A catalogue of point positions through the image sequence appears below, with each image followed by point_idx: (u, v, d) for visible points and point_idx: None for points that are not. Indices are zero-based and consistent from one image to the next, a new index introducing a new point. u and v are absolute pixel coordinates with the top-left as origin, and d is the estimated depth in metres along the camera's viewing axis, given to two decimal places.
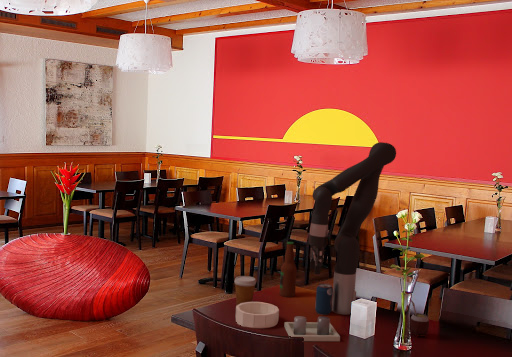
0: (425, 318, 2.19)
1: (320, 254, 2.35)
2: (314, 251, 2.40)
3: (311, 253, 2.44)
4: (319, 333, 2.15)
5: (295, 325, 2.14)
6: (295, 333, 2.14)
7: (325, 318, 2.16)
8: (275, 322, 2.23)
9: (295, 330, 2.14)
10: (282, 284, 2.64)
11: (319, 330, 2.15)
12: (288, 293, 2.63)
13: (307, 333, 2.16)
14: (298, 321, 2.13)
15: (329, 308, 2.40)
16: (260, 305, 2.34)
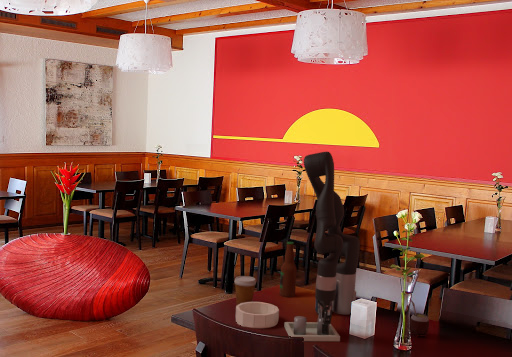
0: (425, 318, 2.19)
1: (328, 314, 2.09)
2: (321, 307, 2.14)
3: (318, 309, 2.17)
4: (319, 333, 2.15)
5: (295, 325, 2.14)
6: (295, 333, 2.14)
7: None
8: (275, 322, 2.23)
9: (295, 330, 2.14)
10: (282, 284, 2.64)
11: (319, 330, 2.15)
12: (288, 293, 2.63)
13: (307, 333, 2.16)
14: (298, 321, 2.13)
15: None
16: (260, 305, 2.34)
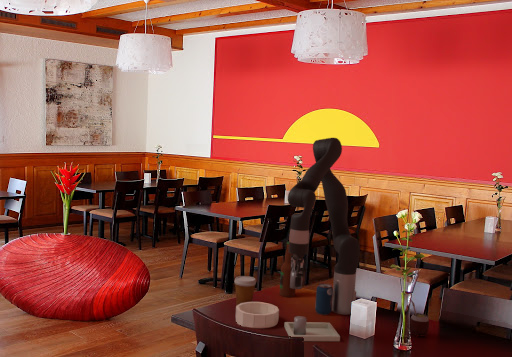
0: (425, 318, 2.19)
1: (301, 266, 2.13)
2: (295, 260, 2.17)
3: (292, 263, 2.21)
4: (292, 286, 2.18)
5: (295, 325, 2.14)
6: (295, 333, 2.14)
7: None
8: (275, 322, 2.23)
9: (295, 330, 2.14)
10: (282, 284, 2.64)
11: (292, 283, 2.18)
12: (288, 293, 2.63)
13: (307, 333, 2.16)
14: (298, 321, 2.13)
15: (329, 308, 2.40)
16: (260, 305, 2.34)
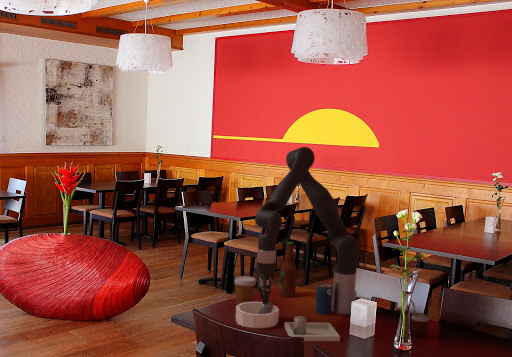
0: (425, 318, 2.19)
1: (267, 283, 2.20)
2: (262, 279, 2.24)
3: (260, 281, 2.28)
4: None
5: (295, 325, 2.14)
6: (295, 333, 2.14)
7: (269, 305, 2.26)
8: (275, 322, 2.23)
9: (295, 330, 2.14)
10: (282, 284, 2.64)
11: None
12: (288, 293, 2.63)
13: (307, 333, 2.16)
14: (298, 321, 2.13)
15: (329, 308, 2.40)
16: (260, 305, 2.34)
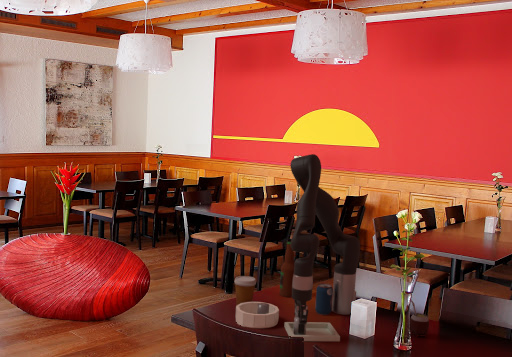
0: (425, 318, 2.19)
1: (304, 314, 2.08)
2: (298, 307, 2.12)
3: (295, 308, 2.16)
4: None
5: (295, 325, 2.14)
6: (295, 333, 2.14)
7: (265, 304, 2.27)
8: (275, 322, 2.23)
9: (295, 330, 2.14)
10: (282, 284, 2.64)
11: None
12: (288, 293, 2.63)
13: (307, 333, 2.16)
14: (298, 321, 2.13)
15: (329, 308, 2.40)
16: None
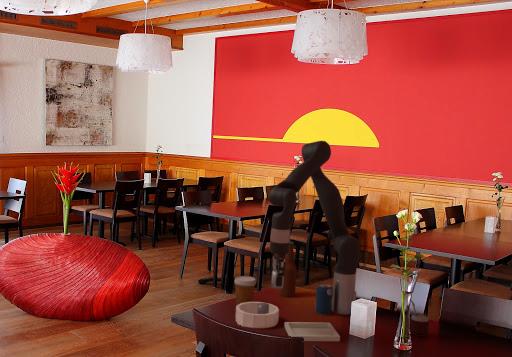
0: (425, 318, 2.19)
1: (281, 266, 2.12)
2: (276, 260, 2.16)
3: (273, 262, 2.20)
4: None
5: (273, 278, 2.18)
6: (273, 286, 2.18)
7: (264, 304, 2.27)
8: (275, 322, 2.23)
9: (273, 283, 2.18)
10: None
11: None
12: (288, 293, 2.63)
13: (307, 333, 2.16)
14: None
15: (329, 308, 2.40)
16: None
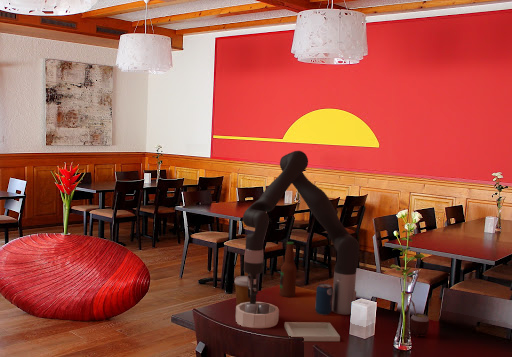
0: (425, 318, 2.19)
1: (254, 282, 2.19)
2: (249, 279, 2.24)
3: (247, 280, 2.28)
4: None
5: (246, 311, 2.26)
6: None
7: (265, 304, 2.27)
8: (275, 322, 2.23)
9: None
10: (282, 284, 2.64)
11: None
12: (288, 293, 2.63)
13: (307, 333, 2.16)
14: (249, 307, 2.25)
15: (329, 308, 2.40)
16: None
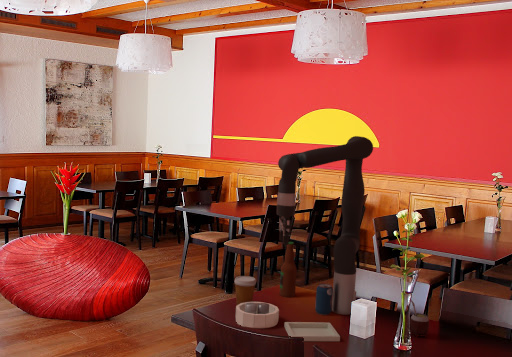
0: (425, 318, 2.19)
1: (287, 223, 2.29)
2: (282, 221, 2.33)
3: (280, 224, 2.37)
4: None
5: (246, 311, 2.26)
6: None
7: (265, 304, 2.27)
8: (275, 322, 2.23)
9: None
10: (282, 284, 2.64)
11: None
12: (288, 293, 2.63)
13: (307, 333, 2.16)
14: (249, 307, 2.25)
15: (329, 308, 2.40)
16: None
